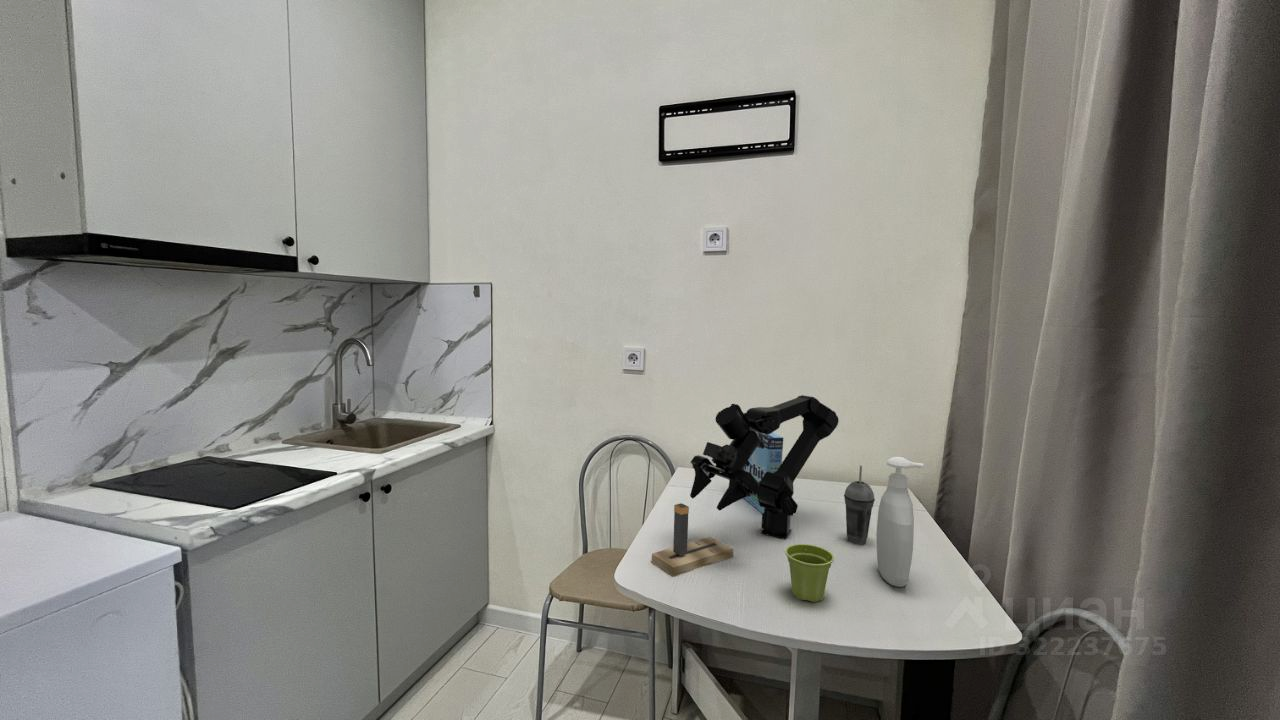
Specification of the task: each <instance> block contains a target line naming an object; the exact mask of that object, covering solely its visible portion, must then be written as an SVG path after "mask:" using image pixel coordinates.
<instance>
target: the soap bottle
mask: <svg viewBox="0 0 1280 720" xmlns="http://www.w3.org/2000/svg"><path fill="white" fill-rule="evenodd" d="M886 465H887V466H889V467H892V468H895V472H892V473H890V474H889V475H888V481H887V482H888V484H887V486H886V489H885V491H884V492H883V494H882V495H881V497H880V502H879V505H878V510H877V520H876V534H875V536H876V560H877V568H878V571H879V573H880V575H881V577H882V578H883V579H884V580H885V581H886V582H887V583H888V584H889V585H891V586H893V587H898V588H902V587H904V586H906V585H907V583H908V581H909V578H910V573H911V572H910V571H911V565H912V562H913V561H912V560H913V553H914V538H915V537H914V534H915V533H914V529H915V527H914V526H915V524H914V523H915V516H914V507H913V505H914V504H913V502H912V498H911V497H910V494H909V490H908V481H909V480H908V477H907V476H906V475H905V474H904V473H902V469H912V468H914V469H915V468H918V469H922V468H923V467H924V465H925V464H924V463H922V462H913V461H911V460H908V459H907V458H905V457H902V456H893V457H891V458H889V459H888V460H887V461H886Z"/></svg>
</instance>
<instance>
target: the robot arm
mask: <svg viewBox="0 0 1280 720" xmlns="http://www.w3.org/2000/svg"><path fill="white" fill-rule="evenodd" d="M797 417H801V418H802V432H801V433H800V435H799V436H798V438H797V439H796V441H795V442H794V444H793V446H791V449H790V450H789V452H788V453H787V454H786V456H785V458H784V459H783V460H782V464H781V465H780V467H779V468H778V470H777V471H776V472H774V473H771V472H766V473H765V474H764V476H763V478H762V480H761V481H760V482H759V483H758V482H757V480H756V479H755V478H754V476H753V475H752V474H751V473H750V472H747V471H744V470H742V469H743V467H744V466H747V467H748V466H749V465H750V463H749V461H748V460H749V458H750V457H751V455H752V454H753V452H754V451H755V449H756V448H757V447H758V448H762V449H764V443H763V438H762V437H759V436H758V435H757V434H756V432H759V433H763V434H771V433H774V432H775V431H777V430H778V429H780V426H781V425H782V424H783V423H784V422H787V421H790V420H792V419H795V418H797ZM715 423H716V424H717V425H718V427H719V428H720V429H721V430H722V431H723V433H724V435H725V436H726V437H727V438H728V439H729V440H732V441H731V442H730V443H729V444H725V445H723V446H721V445H719V444H716V443H712V442H709V441H707V442H706V445H705V447H704V450H703V452H702V455H703V456H702V455H699V454H698V455H694V457H693V458H692V459H691V460H690V464H691V466H692V467H691V468H692V469H694V478H693V479H694V480H693V483H692V486H691V491H690V493H689V496H690V498H691V499H695V498H696V497H697V496H699V494H700V493H701V492H702V491H703V490H704V489H705V488H706V487H707V486H709V485H710V484H711V483H712V479H713V478H715V476H719V477H721V478H724V479H725V480H729V481H728V488H727V489H726V491H725V492H724V494H723V495H722V497H721V498H720V500H719V501H718V504H717V506H716V510H718V511H722V510H723V509H725V508H727V507H729V506H730V505H732V504H733V503H735V502H738V501H740V500H742V499H744V498H745V497H750V496H751V495H754V496H756V494H757V497H758V502H759V506H760V507H764V508H765V509H764V513H761V529H762V530H761V531H760V532H761V533H760V534H762V535H767V536H771V537H776V538H779V539H784V540H785V539H787V538H788V537H789V535H790V534H791V532H792V528H791V517H793V516H794V514H796V513H797V510H798V507H799V505H798V503H797V502H796V500H795V499H794V498H793V495H794V494H795V493H794V491H795V490H794V482H795V480H796V478H797V477H798V475H799V474H800V472H801V471H802V469H803V468H804V466H805V464H806V462H807V461H808V459H809V458H810V457H811V455H812V453H813V451H814V450H815V449H816V447H817V445H818V443H820V441H821V440H823V439H826V438H828V437H830V435H831V434H832V433H833V432H834V431H835V430H836V428H837V427H838V425H839V416H838V415H837V413H836V411H834V410H832V409H831V408H830V407H829V406H826V405H825V404H824V403H821V402H820V400H818V399H817V398H816V397H814V396H810V395H804V394H803V395H802V394H801V395H798V396H797V397H795V398H793V399H790V400H787V401H784V402H782V403H779V404H776V405H773V406H764V407H763V406H759V407H757V406H756V407H752V408H749V409H747V410H746V412H743V410H742V408H741V406H740V405H739V404H738V403H737V404H735V403H731V404H730V406H728V407H725V408H722V410H720V411H718V412H717V413H716V416H715ZM705 456H707V457H710V458H712V459H711V461H712V462H711V461H710V460H709V458H707V457H705ZM714 464H715V465H714ZM750 494H751V495H750Z"/></svg>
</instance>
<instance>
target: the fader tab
mask: <svg viewBox="0 0 1280 720" xmlns="http://www.w3.org/2000/svg"><path fill="white" fill-rule="evenodd" d="M673 505H674V507H673V508H674V509H673V513H674V516H673V518H674V519H673V546H672V548H673V552H674V553H676V554H678V555H679V556H682V555H685V554H687V543H688V537H689V535H688V533H689V513H690V512H689V511H690V506H688V505H686V504H684V503H682V502H680V503H676V504H673Z"/></svg>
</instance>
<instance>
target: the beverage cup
mask: <svg viewBox="0 0 1280 720" xmlns="http://www.w3.org/2000/svg"><path fill="white" fill-rule="evenodd" d="M862 473H863V465H859V473H858V474H859V475H858V480H855V481H853V482H850V483H849V484H848V485H847V486H846V489H845V490H844V494H843V497H844V504H845V518H846V519H845V523H846V524H845V525H846V528H845V529H846V539H847V542H848V543H850V544H852V545H855V546H856V545H857V546H864V545H867V539H868V535H869V531H870V523H871V517H872V509H873V507H874V504H875V501H876V498H875V493H874V491H873V488H872V487H871V486H870V485H869V484H868V483H866V482H864V481H862V476H863V475H862Z"/></svg>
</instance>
